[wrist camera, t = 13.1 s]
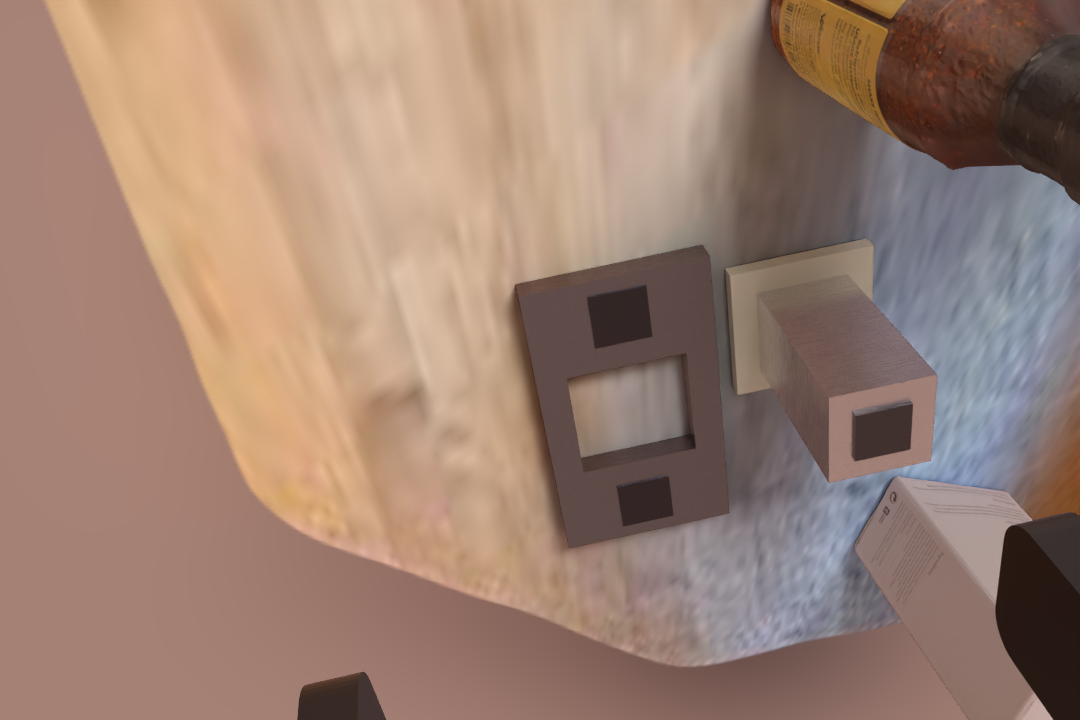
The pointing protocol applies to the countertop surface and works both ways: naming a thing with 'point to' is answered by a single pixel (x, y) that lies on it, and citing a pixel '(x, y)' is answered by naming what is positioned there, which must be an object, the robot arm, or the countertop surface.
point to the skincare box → (951, 587)
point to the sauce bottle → (950, 75)
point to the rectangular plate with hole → (620, 340)
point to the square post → (846, 378)
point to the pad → (781, 274)
